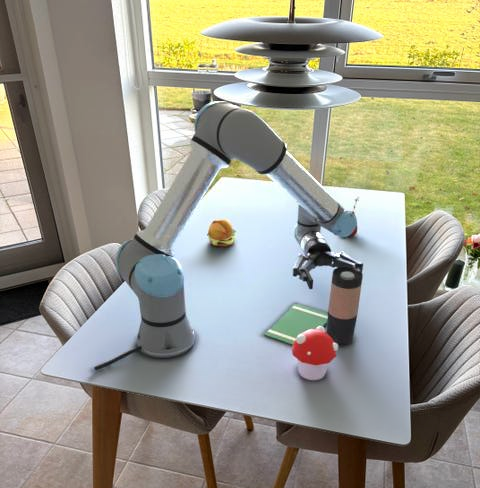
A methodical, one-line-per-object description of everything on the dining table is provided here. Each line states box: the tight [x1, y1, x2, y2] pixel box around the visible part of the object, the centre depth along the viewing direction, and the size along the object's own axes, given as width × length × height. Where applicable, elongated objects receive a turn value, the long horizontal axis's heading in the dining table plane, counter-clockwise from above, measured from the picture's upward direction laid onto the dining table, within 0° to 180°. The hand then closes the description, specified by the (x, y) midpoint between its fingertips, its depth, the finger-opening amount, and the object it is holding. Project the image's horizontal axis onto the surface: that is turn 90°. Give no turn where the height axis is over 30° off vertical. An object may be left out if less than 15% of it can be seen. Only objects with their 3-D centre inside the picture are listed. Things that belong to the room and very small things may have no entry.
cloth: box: [264, 303, 328, 346], centre depth 143 cm, size 19×12×1 cm, turn 148°
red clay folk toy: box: [342, 196, 360, 239], centre depth 190 cm, size 8×7×15 cm
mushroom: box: [291, 326, 339, 381], centre depth 122 cm, size 11×11×12 cm
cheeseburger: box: [206, 218, 237, 247], centre depth 187 cm, size 10×11×10 cm
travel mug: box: [325, 266, 364, 347], centre depth 132 cm, size 8×8×20 cm
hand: (336, 283), depth 136 cm, fingers open, 13 cm apart
